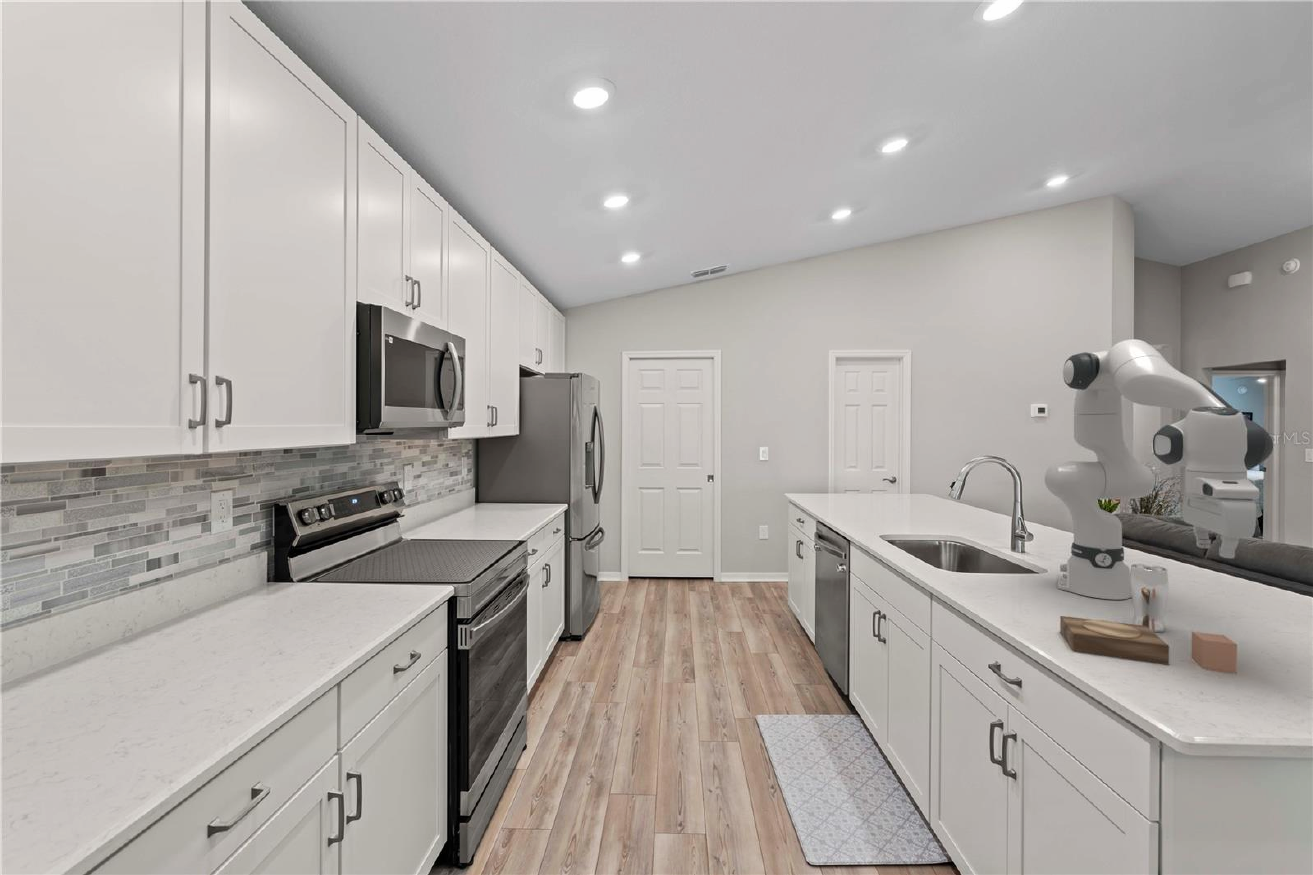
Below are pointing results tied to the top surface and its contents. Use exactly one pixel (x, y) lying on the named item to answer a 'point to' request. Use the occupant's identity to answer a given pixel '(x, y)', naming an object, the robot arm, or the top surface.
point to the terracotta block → (1214, 652)
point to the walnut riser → (1114, 639)
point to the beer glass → (1149, 595)
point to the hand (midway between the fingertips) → (1214, 552)
